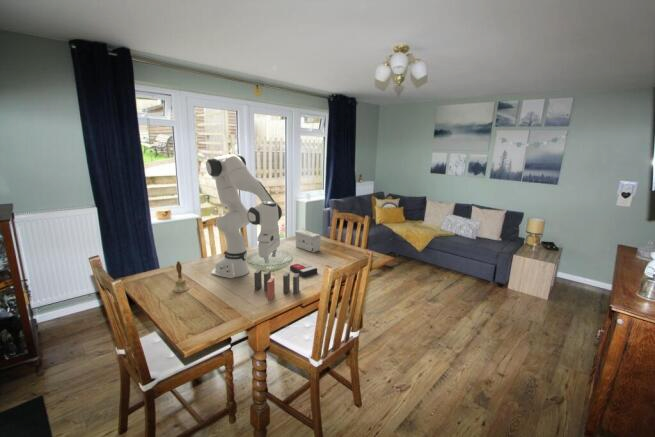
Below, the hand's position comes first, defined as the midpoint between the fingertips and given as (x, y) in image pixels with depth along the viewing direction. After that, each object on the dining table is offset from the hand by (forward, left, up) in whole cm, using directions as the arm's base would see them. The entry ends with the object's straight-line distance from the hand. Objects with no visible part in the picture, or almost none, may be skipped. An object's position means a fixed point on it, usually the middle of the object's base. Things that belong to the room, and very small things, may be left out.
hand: (270, 259), depth 156 cm
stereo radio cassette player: (-1, +80, -21) cm, 83 cm away
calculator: (+7, +37, -22) cm, 44 cm away
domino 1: (-11, +9, -21) cm, 25 cm away
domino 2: (-6, +9, -21) cm, 24 cm away
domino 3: (0, 0, -21) cm, 21 cm away
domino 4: (+5, +9, -21) cm, 24 cm away
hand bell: (-51, -2, -21) cm, 55 cm away
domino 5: (+11, +9, -21) cm, 25 cm away
